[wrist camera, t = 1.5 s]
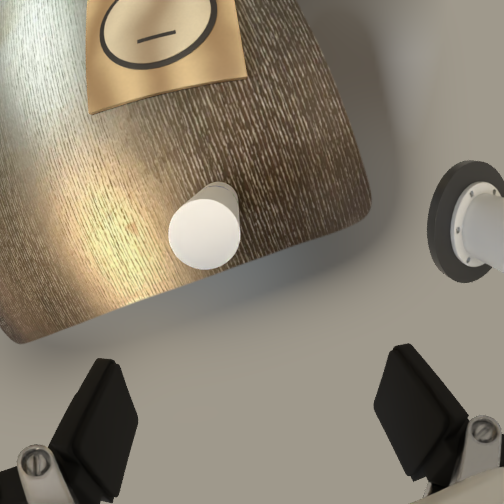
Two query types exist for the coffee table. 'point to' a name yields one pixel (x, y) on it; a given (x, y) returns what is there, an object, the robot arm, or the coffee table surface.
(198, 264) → the tube
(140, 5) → the drawing board
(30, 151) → the coffee table surface
